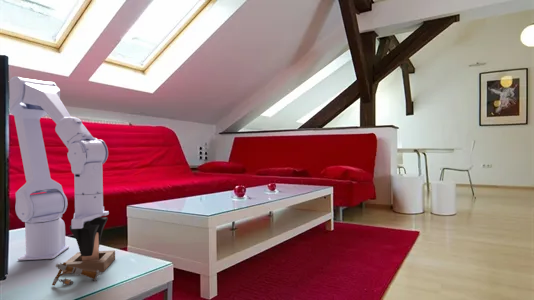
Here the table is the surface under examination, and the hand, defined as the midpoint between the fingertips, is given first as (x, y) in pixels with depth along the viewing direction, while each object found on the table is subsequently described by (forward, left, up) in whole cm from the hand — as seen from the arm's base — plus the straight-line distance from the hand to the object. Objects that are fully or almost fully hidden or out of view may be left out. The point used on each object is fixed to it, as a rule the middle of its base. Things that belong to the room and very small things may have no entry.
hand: (90, 252), depth 79 cm
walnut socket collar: (0, 0, -3) cm, 3 cm away
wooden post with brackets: (+10, +1, -3) cm, 10 cm away
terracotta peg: (0, 0, -2) cm, 2 cm away
